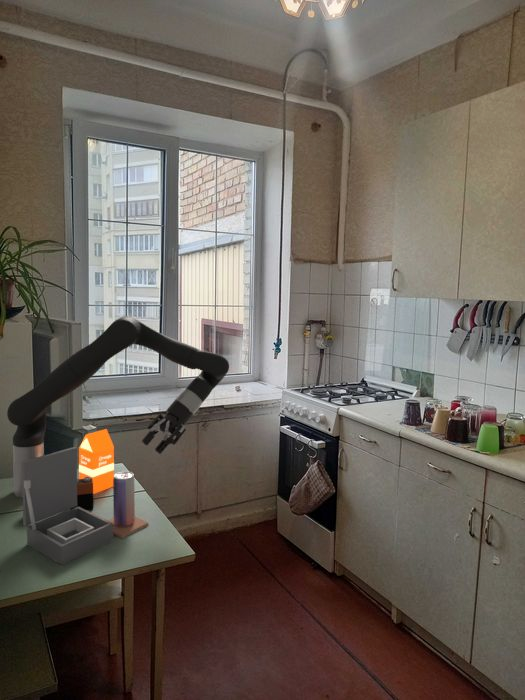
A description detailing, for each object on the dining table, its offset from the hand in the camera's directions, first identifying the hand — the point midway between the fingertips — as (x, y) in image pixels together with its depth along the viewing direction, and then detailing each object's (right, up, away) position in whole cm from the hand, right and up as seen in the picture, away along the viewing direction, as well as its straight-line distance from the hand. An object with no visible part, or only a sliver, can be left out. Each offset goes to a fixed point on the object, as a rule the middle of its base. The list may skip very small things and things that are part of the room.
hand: (150, 447), depth 153 cm
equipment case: (-19, -23, -14) cm, 33 cm away
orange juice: (-24, -18, +22) cm, 37 cm away
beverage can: (-7, -22, -4) cm, 23 cm away
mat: (-7, -23, -4) cm, 24 cm away
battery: (-23, -21, +6) cm, 32 cm away
